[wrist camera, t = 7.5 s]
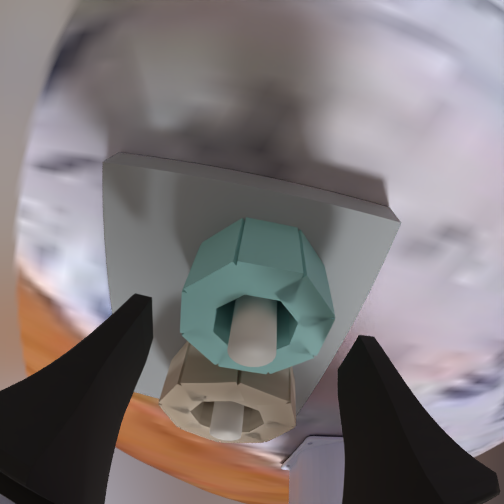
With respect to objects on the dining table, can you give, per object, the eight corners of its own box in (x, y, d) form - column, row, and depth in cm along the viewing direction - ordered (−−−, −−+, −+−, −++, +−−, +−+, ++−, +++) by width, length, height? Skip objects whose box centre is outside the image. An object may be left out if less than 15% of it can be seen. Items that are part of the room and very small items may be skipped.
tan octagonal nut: (298, 399, 18) (299, 440, 16) (197, 403, 19) (189, 441, 17) (284, 328, 15) (285, 378, 12) (157, 337, 16) (141, 381, 13)
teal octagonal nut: (301, 328, 15) (304, 379, 12) (193, 309, 14) (179, 358, 12) (336, 235, 12) (352, 282, 9) (204, 209, 12) (184, 250, 9)
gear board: (292, 404, 21) (292, 470, 16) (132, 373, 20) (110, 436, 16) (389, 207, 13) (442, 283, 8) (119, 152, 12) (41, 203, 7)
